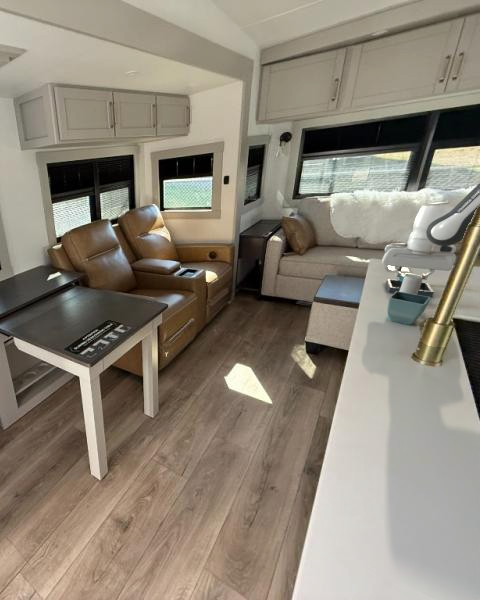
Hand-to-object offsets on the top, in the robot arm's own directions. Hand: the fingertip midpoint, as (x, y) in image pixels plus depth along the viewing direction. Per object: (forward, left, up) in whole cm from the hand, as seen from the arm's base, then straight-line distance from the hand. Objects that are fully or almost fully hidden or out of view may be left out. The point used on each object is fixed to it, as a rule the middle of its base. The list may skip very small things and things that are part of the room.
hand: (410, 277), depth 129 cm
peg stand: (0, -31, -6) cm, 31 cm away
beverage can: (+3, +18, -6) cm, 20 cm away
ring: (0, 0, -2) cm, 2 cm away
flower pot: (+5, +33, -6) cm, 34 cm away
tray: (0, -1, -6) cm, 6 cm away
